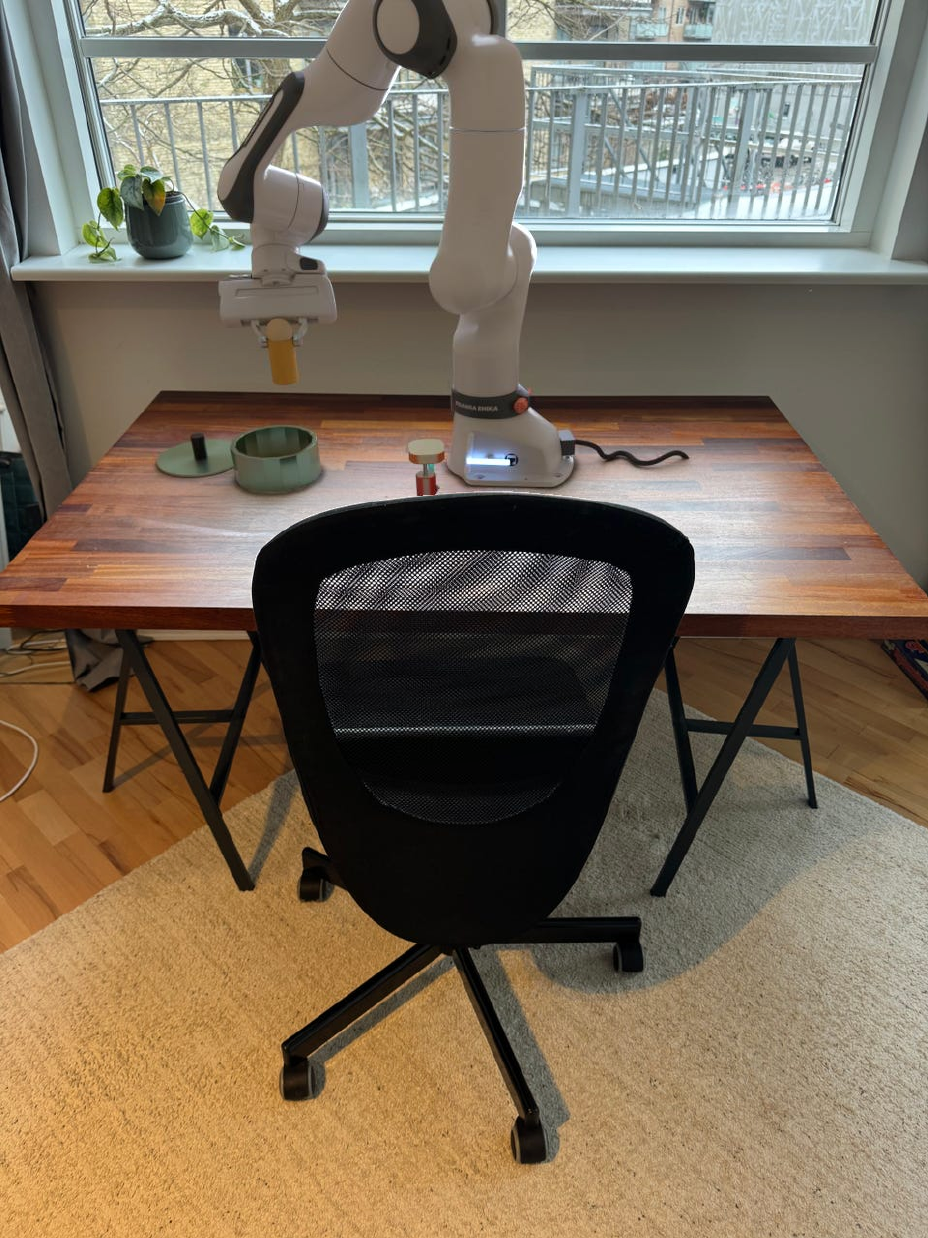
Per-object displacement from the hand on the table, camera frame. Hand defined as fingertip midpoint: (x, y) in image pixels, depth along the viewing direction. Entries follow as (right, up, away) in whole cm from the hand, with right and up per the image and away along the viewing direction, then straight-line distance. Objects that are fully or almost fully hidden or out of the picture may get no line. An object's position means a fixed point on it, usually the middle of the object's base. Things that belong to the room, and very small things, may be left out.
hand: (281, 345), depth 155 cm
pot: (0, -23, +1) cm, 23 cm away
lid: (-16, -19, +6) cm, 25 cm away
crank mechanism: (+27, -36, -19) cm, 49 cm away
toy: (0, -5, +4) cm, 6 cm away
